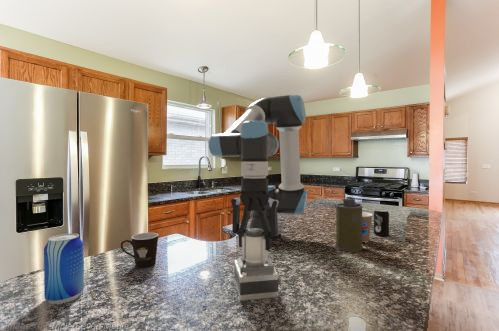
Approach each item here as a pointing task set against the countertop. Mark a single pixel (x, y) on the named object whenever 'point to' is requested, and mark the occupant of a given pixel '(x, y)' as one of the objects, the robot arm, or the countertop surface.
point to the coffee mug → (143, 249)
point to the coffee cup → (366, 226)
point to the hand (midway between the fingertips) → (254, 259)
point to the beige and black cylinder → (254, 247)
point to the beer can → (63, 268)
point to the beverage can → (381, 222)
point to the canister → (349, 225)
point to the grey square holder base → (255, 280)
